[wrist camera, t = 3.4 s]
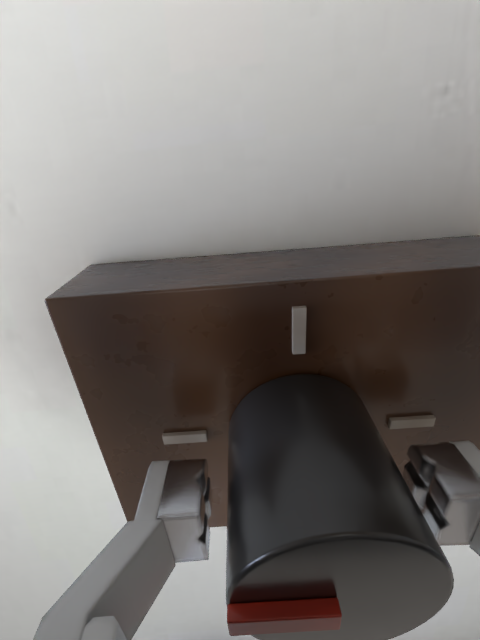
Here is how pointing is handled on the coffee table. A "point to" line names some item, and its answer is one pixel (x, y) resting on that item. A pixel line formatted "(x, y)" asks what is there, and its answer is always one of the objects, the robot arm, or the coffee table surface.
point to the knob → (323, 521)
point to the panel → (271, 346)
